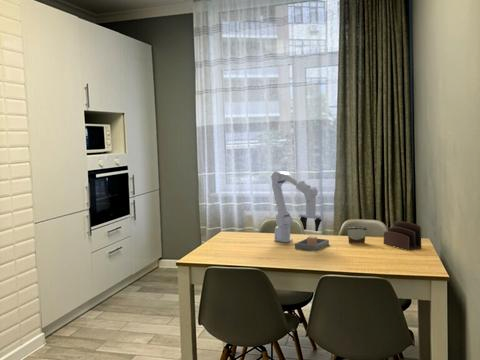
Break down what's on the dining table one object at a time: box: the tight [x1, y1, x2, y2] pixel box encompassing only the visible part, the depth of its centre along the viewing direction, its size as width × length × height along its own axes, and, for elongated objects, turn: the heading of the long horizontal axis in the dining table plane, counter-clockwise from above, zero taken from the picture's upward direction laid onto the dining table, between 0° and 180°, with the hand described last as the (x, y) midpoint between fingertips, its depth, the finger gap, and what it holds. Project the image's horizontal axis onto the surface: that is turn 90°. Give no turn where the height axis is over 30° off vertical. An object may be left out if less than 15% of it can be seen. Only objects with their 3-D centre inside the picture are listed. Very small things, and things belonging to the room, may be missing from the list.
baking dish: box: [294, 237, 330, 252], centre depth 263 cm, size 13×19×3 cm
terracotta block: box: [306, 236, 318, 246], centre depth 263 cm, size 4×4×5 cm
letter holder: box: [383, 220, 422, 251], centre depth 259 cm, size 10×20×14 cm, turn 25°
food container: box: [345, 224, 368, 244], centre depth 272 cm, size 12×6×10 cm, turn 84°
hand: (310, 230), depth 265 cm, fingers open, 7 cm apart
